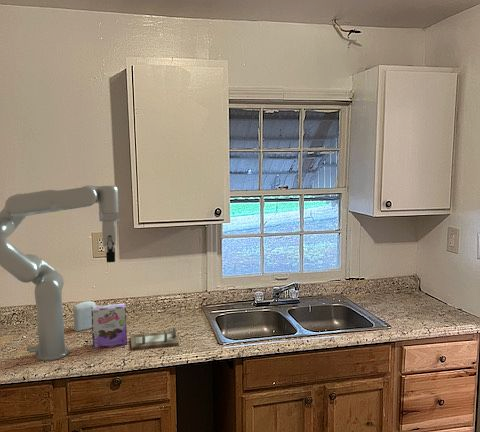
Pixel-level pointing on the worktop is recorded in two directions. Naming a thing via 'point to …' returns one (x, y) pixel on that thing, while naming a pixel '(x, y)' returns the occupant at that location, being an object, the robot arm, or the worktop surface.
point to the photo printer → (83, 315)
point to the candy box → (109, 325)
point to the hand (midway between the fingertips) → (111, 259)
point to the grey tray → (154, 340)
